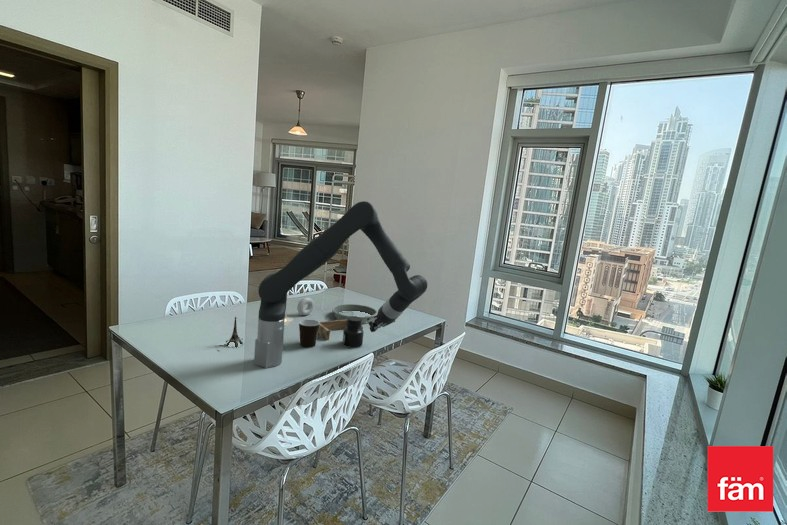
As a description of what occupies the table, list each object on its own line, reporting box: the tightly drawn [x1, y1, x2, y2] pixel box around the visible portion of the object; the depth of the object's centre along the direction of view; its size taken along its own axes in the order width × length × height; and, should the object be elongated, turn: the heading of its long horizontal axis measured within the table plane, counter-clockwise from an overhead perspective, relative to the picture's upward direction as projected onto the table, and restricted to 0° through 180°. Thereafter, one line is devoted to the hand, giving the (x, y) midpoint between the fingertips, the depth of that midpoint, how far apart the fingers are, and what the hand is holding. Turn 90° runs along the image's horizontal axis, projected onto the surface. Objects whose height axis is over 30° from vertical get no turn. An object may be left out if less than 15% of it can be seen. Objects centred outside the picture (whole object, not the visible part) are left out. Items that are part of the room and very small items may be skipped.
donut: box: [296, 296, 315, 317], centre depth 199 cm, size 10×3×10 cm, turn 139°
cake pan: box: [332, 303, 378, 324], centre depth 205 cm, size 25×25×4 cm
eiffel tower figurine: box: [225, 316, 244, 349], centre depth 152 cm, size 15×10×13 cm
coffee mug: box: [298, 318, 321, 349], centre depth 161 cm, size 12×9×10 cm
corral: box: [318, 319, 364, 341], centre depth 178 cm, size 12×18×4 cm, turn 125°
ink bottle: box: [342, 316, 364, 349], centre depth 166 cm, size 10×9×12 cm
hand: (371, 329), depth 154 cm, fingers closed
